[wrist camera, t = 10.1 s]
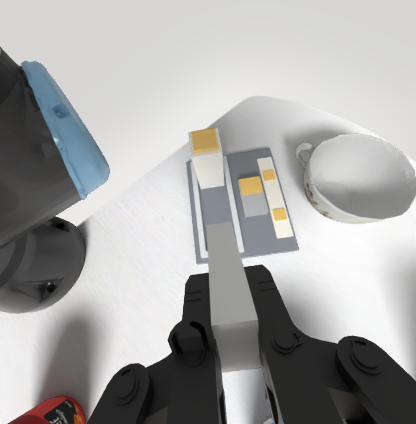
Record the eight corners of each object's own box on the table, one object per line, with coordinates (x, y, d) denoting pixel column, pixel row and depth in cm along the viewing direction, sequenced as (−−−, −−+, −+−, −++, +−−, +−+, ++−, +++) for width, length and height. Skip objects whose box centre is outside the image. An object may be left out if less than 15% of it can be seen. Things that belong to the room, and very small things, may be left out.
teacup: (392, 198, 31) (443, 171, 24) (342, 253, 29) (380, 242, 22) (311, 144, 36) (333, 107, 29) (264, 188, 34) (273, 161, 27)
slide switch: (200, 189, 34) (190, 154, 25) (198, 169, 35) (187, 129, 26) (224, 185, 34) (222, 149, 25) (220, 165, 35) (217, 124, 26)
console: (197, 264, 31) (194, 262, 28) (187, 165, 37) (184, 156, 35) (296, 250, 30) (303, 247, 27) (268, 152, 37) (271, 141, 34)
